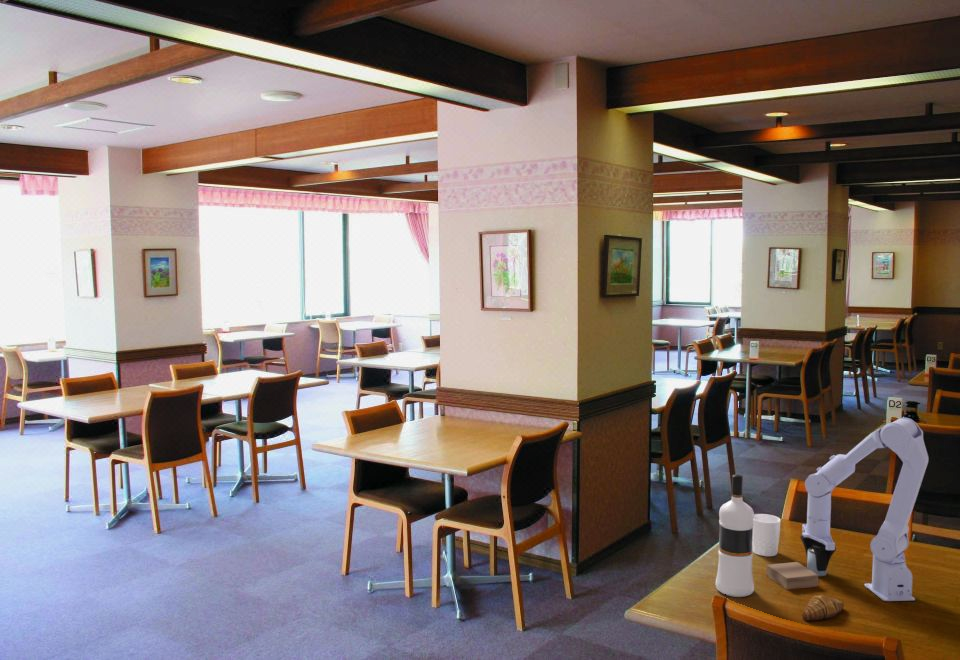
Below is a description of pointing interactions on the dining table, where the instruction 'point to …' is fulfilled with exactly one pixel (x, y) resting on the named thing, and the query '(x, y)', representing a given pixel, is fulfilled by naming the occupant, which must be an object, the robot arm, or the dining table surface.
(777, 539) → the white cup
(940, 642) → the dining table surface
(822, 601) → the croissant
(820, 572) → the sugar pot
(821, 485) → the robot arm
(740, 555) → the vodka
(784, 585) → the walnut box
